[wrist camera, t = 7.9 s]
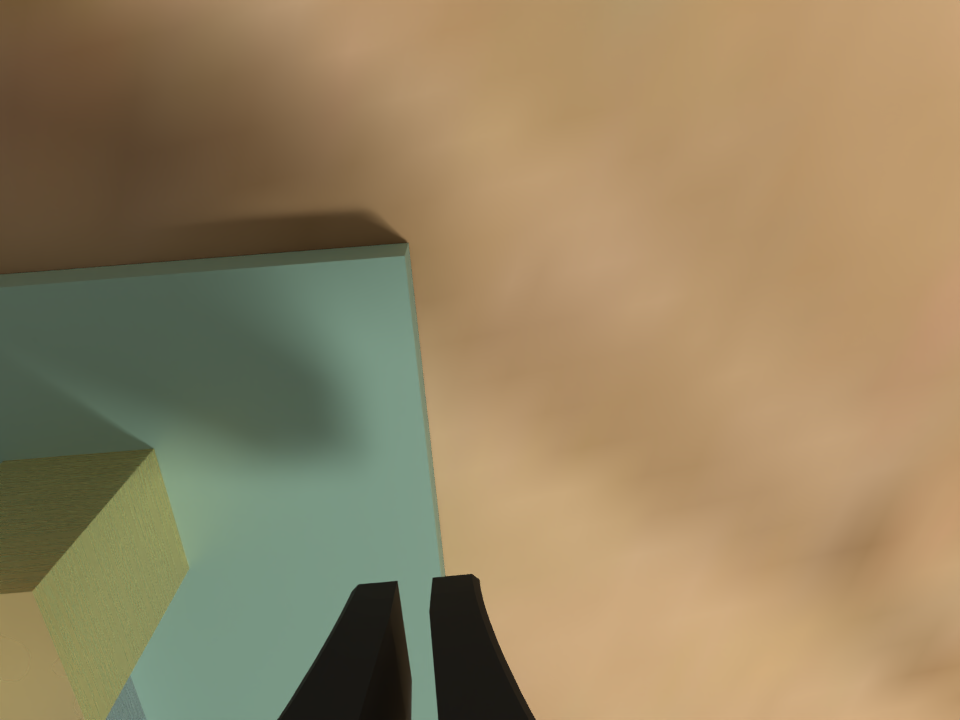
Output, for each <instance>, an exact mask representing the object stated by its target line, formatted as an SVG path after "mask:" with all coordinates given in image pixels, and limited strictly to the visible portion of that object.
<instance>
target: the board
mask: <svg viewBox="0 0 960 720" xmlns="http://www.w3.org/2000/svg"><path fill="white" fill-rule="evenodd" d="M153 448H154V449H155V453H156V456H157V459H158V463H159V466H160V470H161V473H162V477H163V480H164V483H165V487H166V490H167V494H168V497H169V500H170V504H171V507H172V511H173V514H174V517H175V521H176V524H177V528H178V531H179V535H180V538H181V541H182V545H183V548H184V552H185V555H186V558H187V562H188V565H189V570H188V572H187V574H186V576H185V577H184V579H183V581H182V583H181V585H180V586H179V588H178V590H177V592H176V594H175V595H174V597H173V599H172V601H171V603H170V604H169V606H168V608H167V610H166V612H165V613H164V615H163V617H162V619H161V621H160V622H159V624H158V626H157V628H156V630H155V631H154V633H153V635H152V637H151V638H150V640H149V642H148V644H147V646H146V647H145V649H144V651H143V653H142V655H141V656H140V658H139V660H138V662H137V664H136V665H135V667H134V669H133V671H132V673H131V674H130V676H131V678H132V681H133V684H134V687H135V689H136V692H137V695H138V698H139V700H140V703H141V706H142V709H143V711H144V714H145V717H146V720H277V719H278V718H279V716H280V715H281V713H282V712H283V710H284V709H285V707H286V706H287V704H288V703H289V701H290V699H291V698H292V696H293V695H294V693H295V691H296V690H297V688H298V686H299V685H300V683H301V682H302V680H303V678H304V677H305V675H306V673H307V672H308V670H309V669H310V667H311V665H312V664H313V662H314V660H315V659H316V657H317V655H318V654H319V652H320V650H321V648H322V647H323V645H324V643H325V641H326V640H327V638H328V636H329V634H330V632H331V631H332V629H333V627H334V625H335V623H336V621H337V620H338V618H339V616H340V614H341V612H342V610H343V608H344V606H345V604H346V602H347V600H348V598H349V596H350V594H351V592H352V590H353V589H354V588H355V587H356V586H357V585H358V584H367V583H378V582H389V581H398V587H399V593H400V600H401V607H402V614H403V621H404V628H405V635H406V642H407V649H408V656H409V663H410V670H411V677H412V713H411V720H438V711H437V699H436V687H435V675H434V664H433V652H432V640H431V628H430V615H429V609H430V597H431V587H432V578H434V577H445V569H444V560H443V551H442V542H441V533H440V523H439V514H438V505H437V496H436V487H435V478H434V469H433V460H432V451H431V442H430V433H429V424H428V415H427V406H426V397H425V388H424V379H423V370H422V361H421V352H420V343H419V334H418V325H417V316H416V307H415V298H414V289H413V280H412V270H411V261H410V252H409V243H399V244H386V245H373V246H360V247H347V248H334V249H322V250H309V251H296V252H283V253H270V254H257V255H244V256H232V257H219V258H206V259H193V260H180V261H167V262H155V263H142V264H129V265H116V266H103V267H90V268H77V269H65V270H52V271H39V272H26V273H13V274H0V464H1V463H2V462H3V461H8V460H21V459H33V458H45V457H57V456H69V455H81V454H93V453H105V452H117V451H129V450H141V449H153Z"/></svg>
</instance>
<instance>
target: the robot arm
mask: <svg viewBox="0 0 960 720" xmlns="http://www.w3.org/2000/svg"><path fill="white" fill-rule="evenodd" d="M429 615H430V628H431V640H432V652H433V664H434V675H435V687H436V699H437V711H438V720H535V718H534V716H533V714H532V712H531V710H530V709H529V707H528V705H527V703H526V701H525V699H524V697H523V695H522V693H521V691H520V689H519V687H518V685H517V683H516V681H515V679H514V676H513V674H512V672H511V670H510V668H509V666H508V664H507V662H506V660H505V657H504V655H503V653H502V651H501V648H500V646H499V644H498V641H497V639H496V636H495V633H494V631H493V628H492V625H491V623H490V620H489V617H488V614H487V611H486V608H485V605H484V601H483V597H482V593H481V588H480V580H479V579H478V578H476V577H475V576H474V575H473V574H467V575H456V576H445V577H434V578H432V587H431V597H430V609H429ZM411 713H412V677H411V670H410V663H409V656H408V649H407V642H406V635H405V628H404V621H403V614H402V607H401V600H400V593H399V587H398V581H389V582H378V583H367V584H358V585H357V586H356V587H355V588H354V589H353V590H352V592H351V594H350V596H349V598H348V600H347V602H346V604H345V606H344V608H343V610H342V612H341V614H340V616H339V618H338V620H337V621H336V623H335V625H334V627H333V629H332V631H331V632H330V634H329V636H328V638H327V640H326V641H325V643H324V645H323V647H322V648H321V650H320V652H319V654H318V655H317V657H316V659H315V660H314V662H313V664H312V665H311V667H310V669H309V670H308V672H307V673H306V675H305V677H304V678H303V680H302V682H301V683H300V685H299V686H298V688H297V690H296V691H295V693H294V695H293V696H292V698H291V699H290V701H289V703H288V704H287V706H286V707H285V709H284V710H283V712H282V713H281V715H280V716H279V718H278V719H277V720H411Z"/></svg>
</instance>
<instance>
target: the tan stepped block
mask: <svg viewBox="0 0 960 720" xmlns="http://www.w3.org/2000/svg"><path fill="white" fill-rule="evenodd" d="M188 570H189V565H188V562H187V558H186V555H185V552H184V548H183V545H182V541H181V538H180V535H179V531H178V528H177V524H176V521H175V517H174V514H173V511H172V507H171V504H170V500H169V497H168V494H167V490H166V487H165V483H164V480H163V477H162V473H161V470H160V466H159V463H158V459H157V456H156V453H155V449H154V448H153V449H141V450H129V451H117V452H105V453H93V454H81V455H69V456H57V457H45V458H33V459H21V460H8V461H3V462H2V463H1V464H0V720H105V719H106V717H107V716H108V714H109V712H110V710H111V709H112V707H113V705H114V703H115V701H116V700H117V698H118V696H119V694H120V692H121V691H122V689H123V687H124V685H125V683H126V682H127V680H128V678H129V676H130V674H131V673H132V671H133V669H134V667H135V665H136V664H137V662H138V660H139V658H140V656H141V655H142V653H143V651H144V649H145V647H146V646H147V644H148V642H149V640H150V638H151V637H152V635H153V633H154V631H155V630H156V628H157V626H158V624H159V622H160V621H161V619H162V617H163V615H164V613H165V612H166V610H167V608H168V606H169V604H170V603H171V601H172V599H173V597H174V595H175V594H176V592H177V590H178V588H179V586H180V585H181V583H182V581H183V579H184V577H185V576H186V574H187V572H188Z"/></svg>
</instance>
